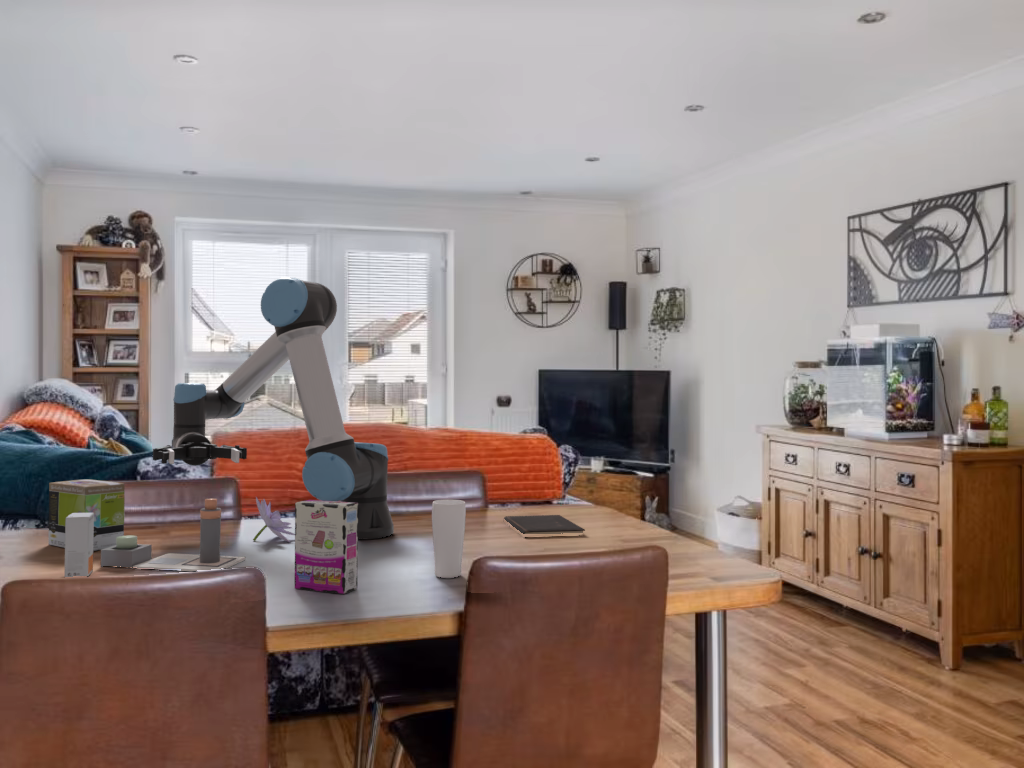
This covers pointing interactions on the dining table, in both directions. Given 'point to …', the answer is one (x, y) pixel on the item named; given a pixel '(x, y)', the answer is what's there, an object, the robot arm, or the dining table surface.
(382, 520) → the robot arm
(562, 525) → the hardcover book
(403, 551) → the dining table surface
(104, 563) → the button housing
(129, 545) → the button
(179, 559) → the board
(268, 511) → the water lily
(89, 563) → the skincare box
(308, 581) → the candy bar box
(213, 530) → the grey and orange bottle
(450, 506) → the drinking glass
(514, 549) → the dining table surface
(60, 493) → the tea box
